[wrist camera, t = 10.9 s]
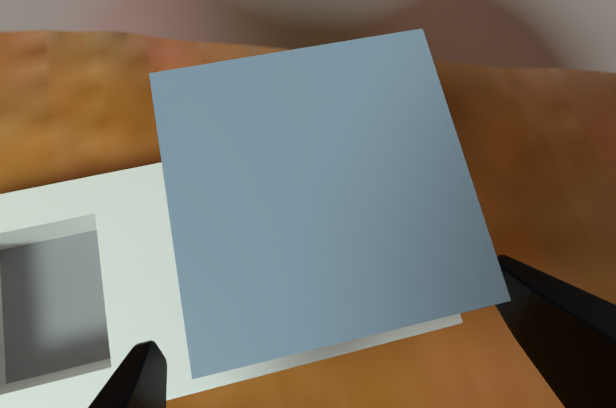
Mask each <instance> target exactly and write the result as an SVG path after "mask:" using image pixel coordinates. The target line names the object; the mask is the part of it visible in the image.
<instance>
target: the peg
mask: <svg viewBox="0 0 616 408" xmlns="http://www.w3.org/2000/svg"><path fill="white" fill-rule="evenodd" d="M149 76H150V83H151V90H152V97H153V104H154V112H155V119H156V126H157V133H158V140H159V147H160V154H161V161H162V169H163V176H164V183H165V190H166V197H167V204H168V211H169V218H170V226H171V233H172V240H173V247H174V254H175V261H176V268H177V275H178V282H179V290H180V297H181V304H182V311H183V318H184V325H185V332H186V339H187V347H188V354H189V361H190V368H191V375H192V379H196V378H200V377H204V376H208V375H212V374H216V373H220V372H224V371H228V370H233V369H237V368H241V367H245V366H249V365H253V364H257V363H261V362H265V361H269V360H273V359H277V358H281V357H285V356H289V355H293V354H297V353H301V352H305V351H310V350H314V349H318V348H322V347H326V346H330V345H334V344H338V343H342V342H346V341H350V340H354V339H358V338H362V337H366V336H370V335H374V334H378V333H382V332H387V331H391V330H395V329H399V328H403V327H407V326H411V325H415V324H419V323H423V322H427V321H431V320H435V319H439V318H443V317H447V316H451V315H455V314H459V313H464V312H468V311H472V310H476V309H480V308H484V307H488V306H492V305H496V304H500V303H504V302H508V301H511V299H510V296H509V293H508V290H507V287H506V283H505V280H504V277H503V274H502V271H501V268H500V265H499V262H498V259H497V256H496V253H495V250H494V247H493V244H492V240H491V237H490V234H489V231H488V228H487V225H486V222H485V219H484V216H483V213H482V210H481V207H480V204H479V201H478V198H477V194H476V191H475V188H474V185H473V182H472V179H471V176H470V173H469V170H468V167H467V164H466V161H465V158H464V155H463V152H462V148H461V145H460V142H459V139H458V136H457V133H456V130H455V127H454V124H453V121H452V118H451V115H450V112H449V109H448V105H447V102H446V99H445V96H444V93H443V90H442V87H441V84H440V81H439V78H438V75H437V72H436V69H435V66H434V63H433V59H432V56H431V54H430V50H429V47H428V44H427V41H426V38H425V35H424V32H423V29H417V30H411V31H404V32H398V33H392V34H386V35H380V36H374V37H368V38H362V39H355V40H349V41H344V42H337V43H331V44H325V45H319V46H313V47H307V48H301V49H294V50H288V51H282V52H276V53H270V54H264V55H258V56H252V57H246V58H240V59H233V60H227V61H221V62H215V63H209V64H203V65H197V66H191V67H185V68H179V69H172V70H166V71H160V72H154V73H149Z"/></svg>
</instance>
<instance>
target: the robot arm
mask: <svg viewBox="0 0 616 408" xmlns="http://www.w3.org/2000/svg"><path fill="white" fill-rule="evenodd" d="M497 259H498V262H499V265H500V268H501V271H502V274H503V277H504V280H505V283H506V287H507V290H508V293H509V296H510V299H511V301H508V302H504V303H500V304H496V307H497V309H498V311H499V312H500V314H501V316H502V317H503V319H504V321H505V323H506V324H507V326H508V328H509V329H510V331H511V333H512V334H513V336H514V337H515V339H516V340H517V342H518V343H519V345H520V346H521V347H522V349H523V350H524V351H525V353H526V354H527V356H528V357H529V358H530V360H531V361H532V363H533V364H534V365H535V367H536V368H537V369H538V371H539V372H540V374H541V375H542V376H543V378H544V379H545V380H546V382H547V383H548V385H549V386H550V387H551V389H552V390H553V392H554V393H555V394H556V396H557V397H558V398H559V400H560V401H561V403H562V404H563V405H564V407H565V408H616V305H615V304H612V303H610V302H608V301H606V300H603V299H601V298H599V297H597V296H595V295H592V294H590V293H588V292H586V291H584V290H581V289H579V288H577V287H575V286H573V285H570V284H568V283H566V282H564V281H561V280H559V279H557V278H555V277H553V276H550V275H548V274H546V273H544V272H542V271H539V270H537V269H535V268H533V267H531V266H528V265H526V264H524V263H522V262H519V261H517V260H515V259H513V258H511V257H508V256H506V255H498V256H497ZM166 390H167V361H166V358H165V356H164V355H163V353H162V352H161V350H160V349H159V347H158V346H157V344H156V343H155V342H154V341H152V340H149V341H145V342H141V343H138V344H136V345H135V346H133V348H132V349H131V350H130V352H129V353H128V354H127V356H126V357H125V358H124V360H123V361H122V362H121V364H120V365H119V366H118V368H117V369H116V370H115V372H114V373H113V374H112V376H111V377H110V379H109V380H108V381H107V383H106V384H105V385H104V387H103V388H102V389H101V391H100V392H99V393H98V395H97V396H96V397H95V399H94V400H93V401H92V403H91V404H90V405H89V407H88V408H166Z"/></svg>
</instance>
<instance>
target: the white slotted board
mask: <svg viewBox="0 0 616 408" xmlns="http://www.w3.org/2000/svg"><path fill="white" fill-rule="evenodd" d="M460 323H463V322H462V319H461V315H460V313H459V314H455V315H451V316H447V317H443V318H439V319H435V320H431V321H427V322H423V323H419V324H415V325H411V326H407V327H403V328H399V329H395V330H391V331H387V332H382V333H378V334H374V335H370V336H366V337H362V338H358V339H354V340H350V341H346V342H342V343H338V344H334V345H330V346H326V347H322V348H318V349H314V350H310V351H305V352H301V353H297V354H293V355H289V356H285V357H281V358H277V359H273V360H269V361H265V362H261V363H257V364H253V365H249V366H245V367H241V368H237V369H233V370H228V371H224V372H220V373H216V374H212V375H208V376H204V377H200V378H196V379H192V375H191V368H190V361H189V354H188V347H187V339H186V332H185V325H184V318H183V311H182V304H181V297H180V290H179V282H178V275H177V268H176V261H175V254H174V247H173V240H172V233H171V226H170V218H169V211H168V204H167V197H166V190H165V183H164V176H163V169H162V162H161V163H156V164H151V165H146V166H140V167H135V168H130V169H125V170H120V171H115V172H110V173H105V174H100V175H95V176H90V177H85V178H80V179H75V180H70V181H65V182H60V183H54V184H49V185H44V186H39V187H34V188H29V189H24V190H19V191H14V192H9V193H4V194H0V408H88V407H89V405H90V404H91V403H92V401H93V400H94V399H95V397H96V396H97V395H98V393H99V392H100V391H101V389H102V388H103V387H104V385H105V384H106V383H107V381H108V380H109V379H110V377H111V376H112V374H113V373H114V372H115V370H116V369H117V368H118V366H119V365H120V364H121V362H122V361H123V360H124V358H125V357H126V356H127V354H128V353H129V352H130V350H131V349H132V348H133V346H135V345H136V344H138V343H141V342H145V341H149V340H152V341H154V342H155V343H156V344H157V346H158V347H159V349H160V350H161V352H162V353H163V355H164V356H165V358H166V361H167V390H166V400H170V399H174V398H178V397H182V396H185V395H189V394H193V393H197V392H201V391H204V390H208V389H212V388H216V387H220V386H224V385H227V384H231V383H235V382H239V381H243V380H246V379H250V378H254V377H258V376H262V375H266V374H269V373H273V372H277V371H281V370H285V369H288V368H292V367H296V366H300V365H304V364H308V363H311V362H315V361H319V360H323V359H327V358H330V357H334V356H338V355H342V354H346V353H350V352H353V351H357V350H361V349H365V348H369V347H372V346H376V345H380V344H384V343H388V342H392V341H395V340H399V339H403V338H407V337H411V336H414V335H418V334H422V333H426V332H430V331H434V330H437V329H441V328H445V327H449V326H453V325H456V324H460Z"/></svg>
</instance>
